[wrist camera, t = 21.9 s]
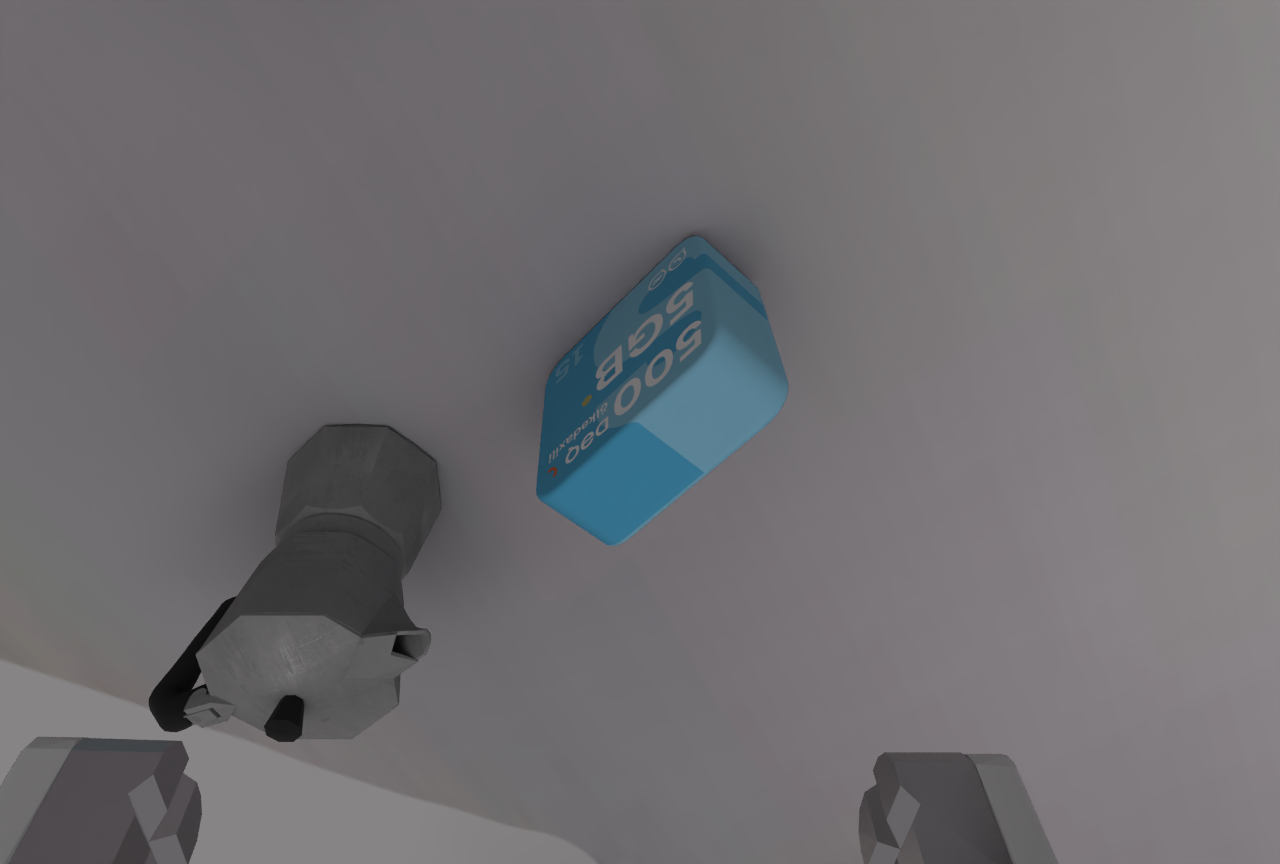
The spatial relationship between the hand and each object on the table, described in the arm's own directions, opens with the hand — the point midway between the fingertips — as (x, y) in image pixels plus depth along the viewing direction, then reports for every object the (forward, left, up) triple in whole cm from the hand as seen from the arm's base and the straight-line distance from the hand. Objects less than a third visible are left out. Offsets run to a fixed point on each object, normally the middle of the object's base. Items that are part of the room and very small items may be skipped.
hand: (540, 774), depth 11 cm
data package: (+14, +4, -37) cm, 40 cm away
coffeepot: (+26, -13, -37) cm, 47 cm away
